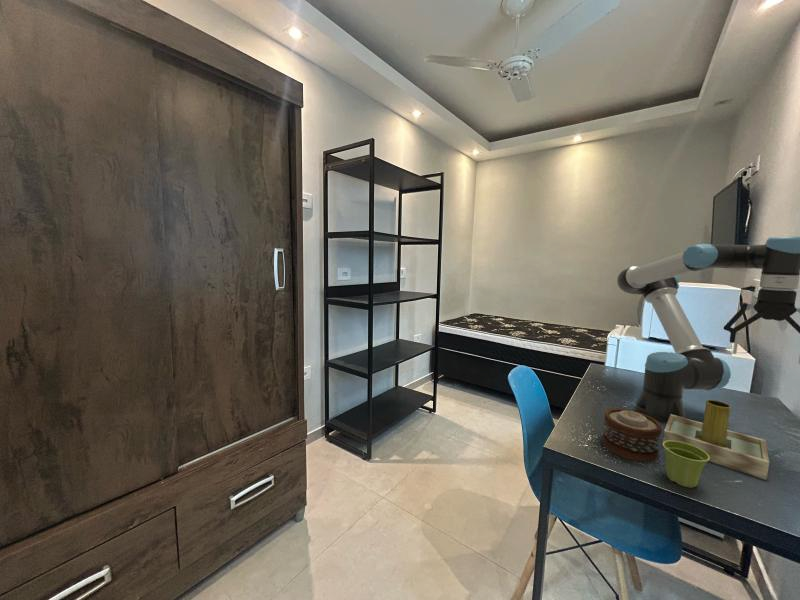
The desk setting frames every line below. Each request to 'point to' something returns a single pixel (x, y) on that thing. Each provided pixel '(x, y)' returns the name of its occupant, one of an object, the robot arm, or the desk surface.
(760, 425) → the desk surface
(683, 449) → the plant pot
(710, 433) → the vase
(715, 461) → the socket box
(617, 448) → the spiked roller
